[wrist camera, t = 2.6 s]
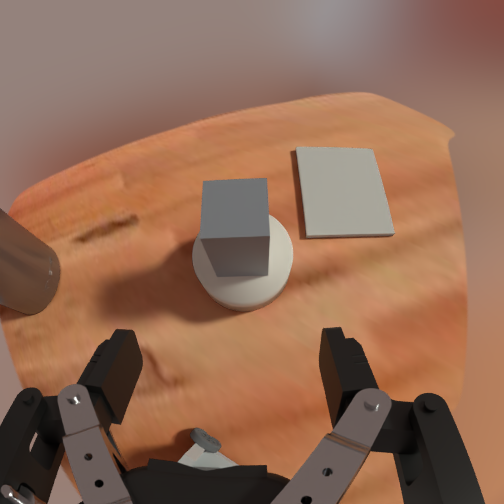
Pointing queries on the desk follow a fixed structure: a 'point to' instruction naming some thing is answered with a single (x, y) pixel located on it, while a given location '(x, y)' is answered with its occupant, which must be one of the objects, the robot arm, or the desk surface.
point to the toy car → (205, 453)
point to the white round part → (248, 287)
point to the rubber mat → (342, 193)
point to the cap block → (236, 226)
